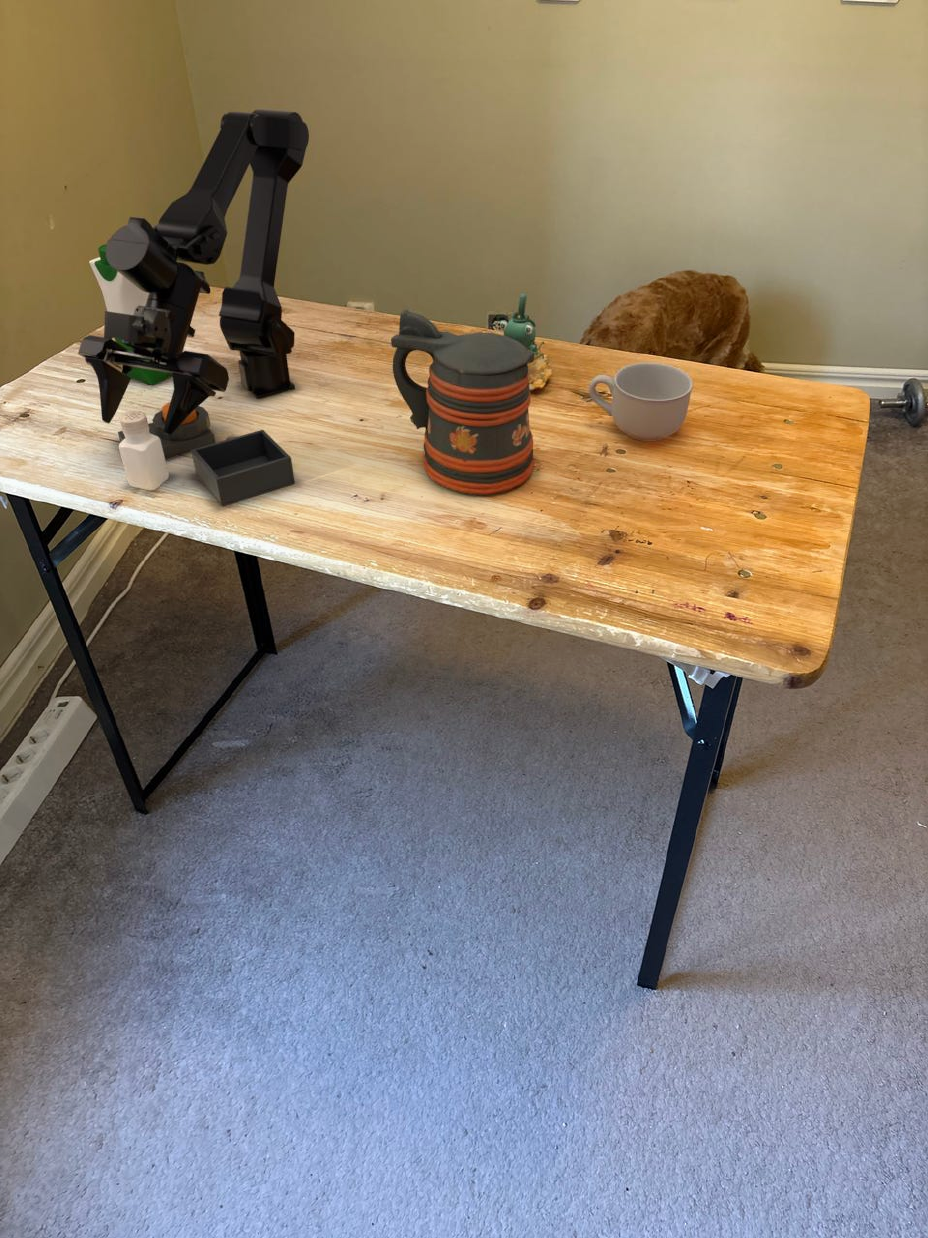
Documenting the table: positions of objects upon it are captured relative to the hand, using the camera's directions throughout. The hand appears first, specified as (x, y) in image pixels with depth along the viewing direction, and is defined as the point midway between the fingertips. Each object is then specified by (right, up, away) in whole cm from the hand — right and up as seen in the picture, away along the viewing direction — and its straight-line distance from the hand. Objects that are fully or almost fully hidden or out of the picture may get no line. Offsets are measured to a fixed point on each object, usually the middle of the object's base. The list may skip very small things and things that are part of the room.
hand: (135, 427), depth 114 cm
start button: (+2, +4, +12) cm, 13 cm away
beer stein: (+41, -4, +8) cm, 42 cm away
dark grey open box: (+12, -6, +5) cm, 15 cm away
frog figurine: (+50, +13, +28) cm, 59 cm away
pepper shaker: (0, -6, +5) cm, 8 cm away
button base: (0, +1, +13) cm, 13 cm away
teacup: (+65, +3, +15) cm, 67 cm away
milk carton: (-8, +15, +31) cm, 36 cm away
